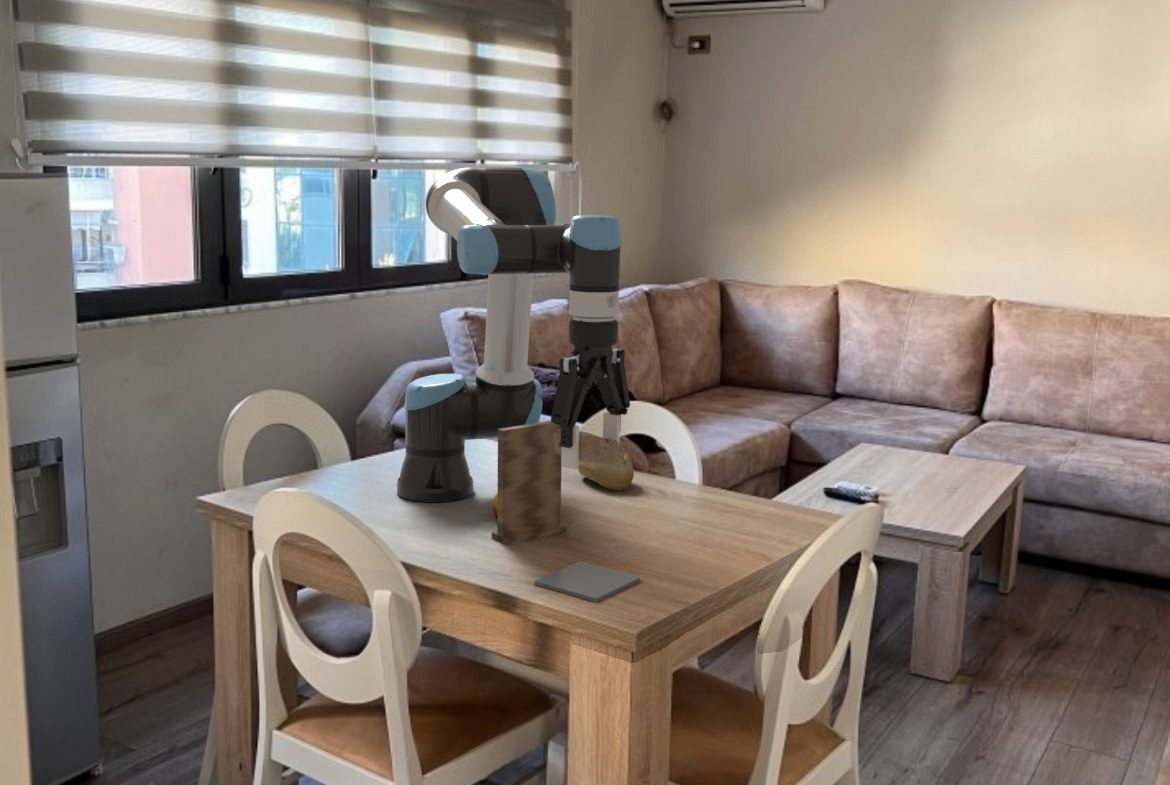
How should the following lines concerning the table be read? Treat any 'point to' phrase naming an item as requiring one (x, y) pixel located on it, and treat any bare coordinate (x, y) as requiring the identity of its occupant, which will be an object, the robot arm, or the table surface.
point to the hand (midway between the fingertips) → (590, 460)
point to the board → (528, 483)
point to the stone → (594, 448)
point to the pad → (587, 581)
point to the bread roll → (609, 473)
